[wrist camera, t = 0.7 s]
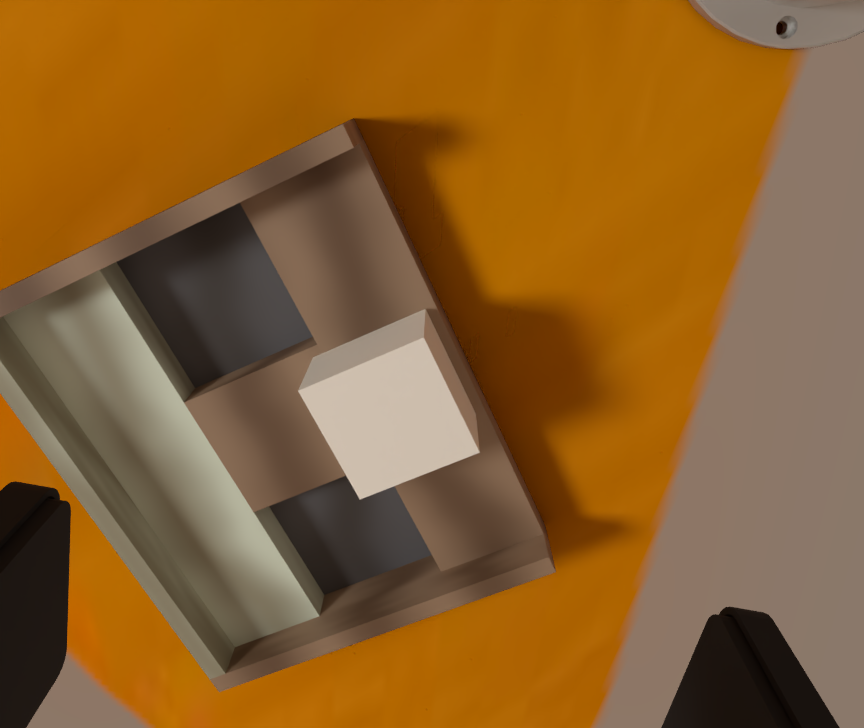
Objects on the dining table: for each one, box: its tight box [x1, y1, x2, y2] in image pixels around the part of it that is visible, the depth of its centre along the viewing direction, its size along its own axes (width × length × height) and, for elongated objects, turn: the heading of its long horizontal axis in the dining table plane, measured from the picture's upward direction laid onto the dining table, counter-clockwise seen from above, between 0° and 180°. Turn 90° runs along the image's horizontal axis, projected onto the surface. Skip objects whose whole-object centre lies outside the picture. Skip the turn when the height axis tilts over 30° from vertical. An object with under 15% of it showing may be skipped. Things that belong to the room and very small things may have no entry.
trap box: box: [0, 118, 556, 692], centre depth 37 cm, size 20×24×4 cm
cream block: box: [298, 309, 480, 499], centre depth 34 cm, size 6×6×4 cm
